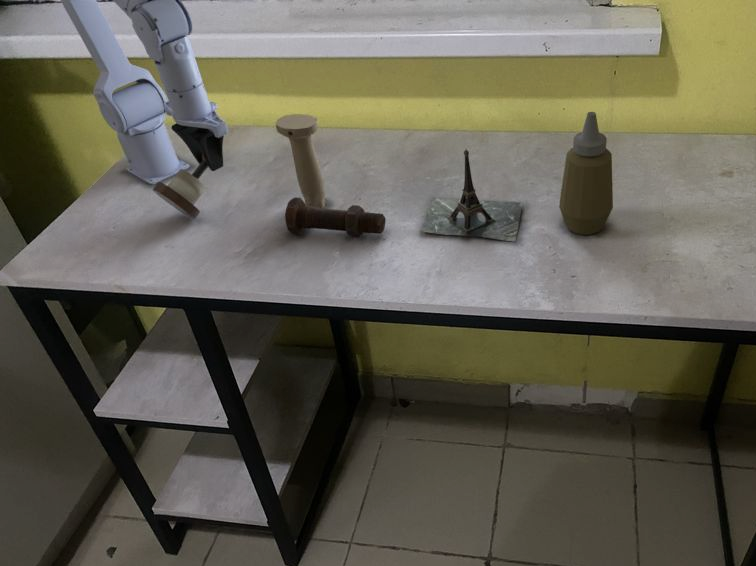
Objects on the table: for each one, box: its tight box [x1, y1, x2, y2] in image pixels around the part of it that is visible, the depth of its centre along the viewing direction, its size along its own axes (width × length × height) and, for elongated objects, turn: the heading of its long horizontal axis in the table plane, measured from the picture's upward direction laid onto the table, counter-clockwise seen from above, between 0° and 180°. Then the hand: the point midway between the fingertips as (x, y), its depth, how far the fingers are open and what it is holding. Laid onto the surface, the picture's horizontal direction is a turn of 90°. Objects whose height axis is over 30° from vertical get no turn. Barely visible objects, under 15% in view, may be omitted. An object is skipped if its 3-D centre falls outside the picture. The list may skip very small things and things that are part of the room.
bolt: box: [284, 197, 387, 239], centre depth 110 cm, size 6×5×15 cm
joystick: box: [152, 155, 209, 220], centre depth 115 cm, size 11×8×8 cm, turn 139°
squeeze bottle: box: [558, 111, 614, 236], centre depth 103 cm, size 8×8×18 cm
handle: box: [274, 113, 327, 209], centre depth 113 cm, size 5×6×15 cm
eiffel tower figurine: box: [419, 149, 524, 242], centre depth 107 cm, size 15×10×13 cm
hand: (211, 165), depth 116 cm, fingers closed on joystick, 3 cm apart
